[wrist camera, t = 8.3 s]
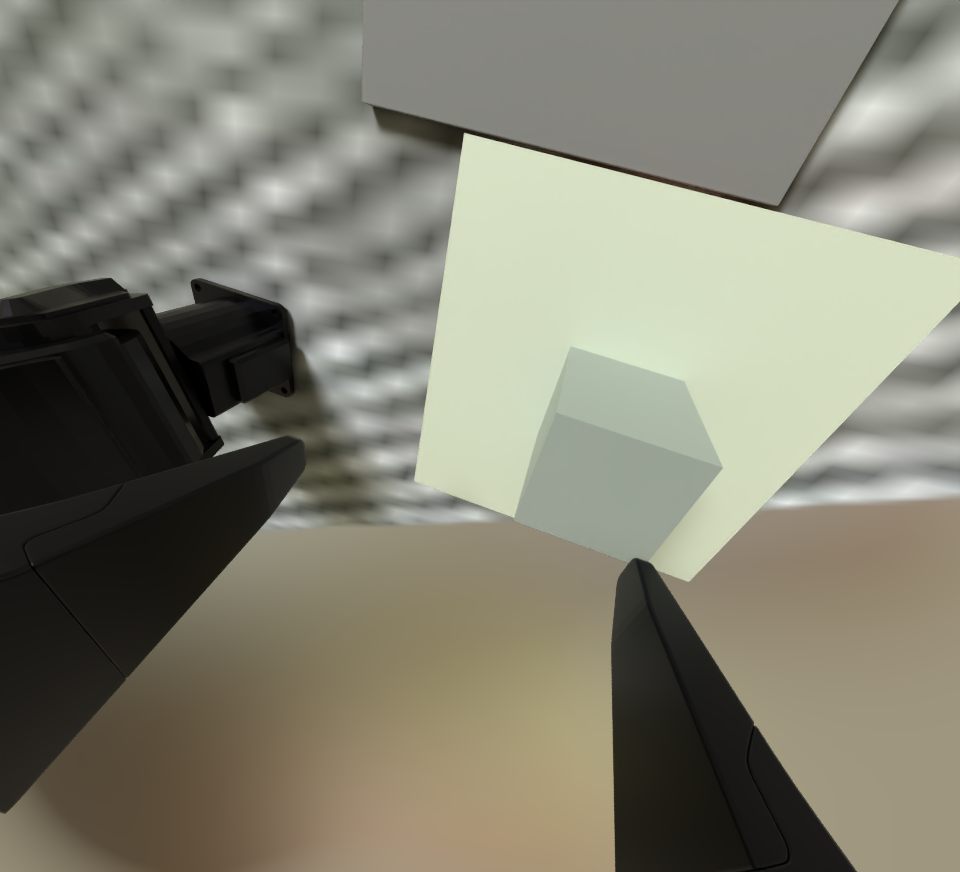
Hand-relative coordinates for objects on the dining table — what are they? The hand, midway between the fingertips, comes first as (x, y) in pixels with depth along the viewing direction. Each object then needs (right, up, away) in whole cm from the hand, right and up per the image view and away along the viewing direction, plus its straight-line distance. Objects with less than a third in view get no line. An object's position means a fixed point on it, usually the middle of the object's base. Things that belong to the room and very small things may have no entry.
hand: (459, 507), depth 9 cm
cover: (+5, +3, +5) cm, 8 cm away
